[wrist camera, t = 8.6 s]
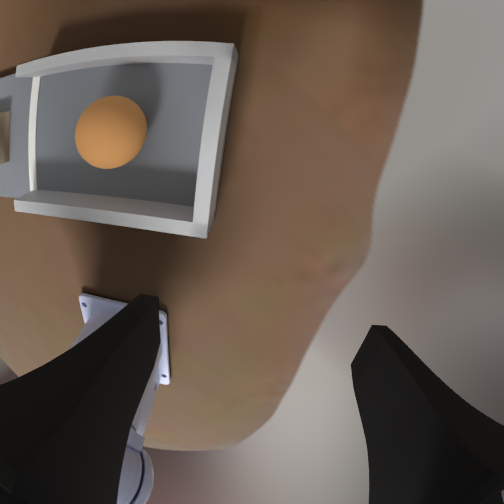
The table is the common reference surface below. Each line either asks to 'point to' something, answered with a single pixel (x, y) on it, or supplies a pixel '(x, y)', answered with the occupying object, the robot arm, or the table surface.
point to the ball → (110, 132)
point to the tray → (153, 150)
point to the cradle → (4, 136)
